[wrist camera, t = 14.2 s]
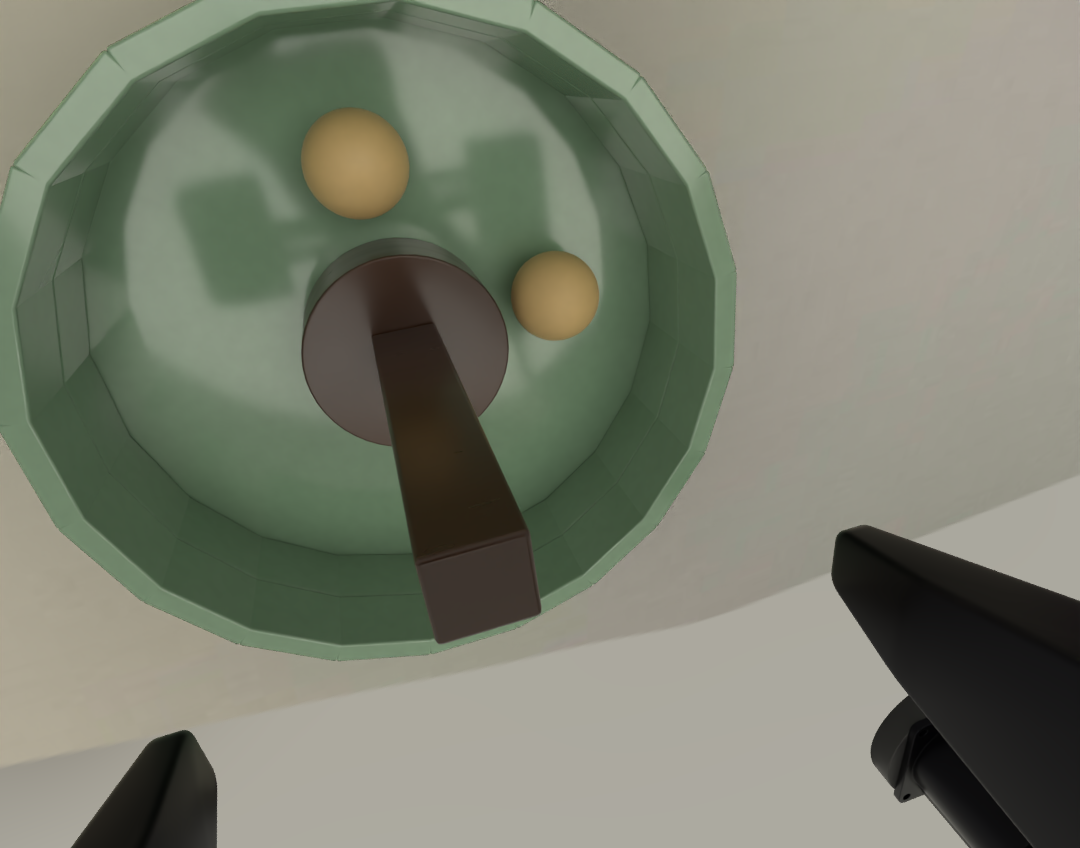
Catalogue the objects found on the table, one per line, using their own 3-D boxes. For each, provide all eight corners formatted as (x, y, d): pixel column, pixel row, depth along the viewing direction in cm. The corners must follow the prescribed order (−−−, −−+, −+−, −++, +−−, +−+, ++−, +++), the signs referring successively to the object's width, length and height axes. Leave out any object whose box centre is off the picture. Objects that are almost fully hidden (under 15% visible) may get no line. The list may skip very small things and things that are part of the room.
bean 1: (408, 147, 14) (391, 76, 15) (290, 166, 14) (282, 92, 15) (424, 231, 16) (408, 163, 17) (322, 249, 16) (313, 179, 17)
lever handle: (504, 393, 20) (660, 664, 11) (332, 433, 19) (341, 768, 10) (477, 221, 18) (649, 382, 8) (277, 257, 17) (222, 484, 8)
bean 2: (570, 343, 20) (606, 349, 18) (494, 332, 19) (521, 336, 17) (583, 261, 20) (621, 257, 17) (506, 246, 19) (535, 239, 16)
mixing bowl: (664, 489, 25) (727, 565, 21) (202, 615, 21) (176, 732, 18) (651, -42, 17) (749, -76, 13) (-85, 37, 14) (-244, 24, 10)
